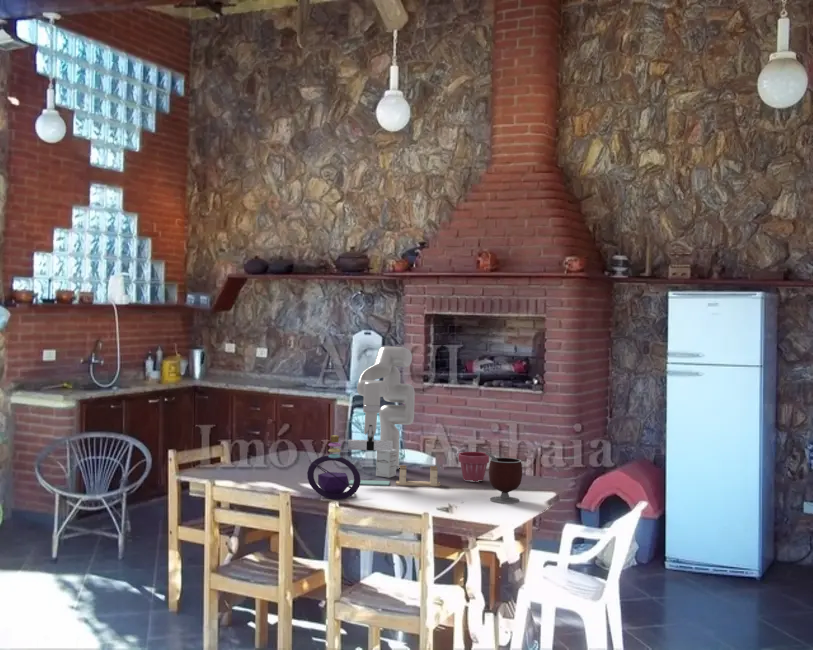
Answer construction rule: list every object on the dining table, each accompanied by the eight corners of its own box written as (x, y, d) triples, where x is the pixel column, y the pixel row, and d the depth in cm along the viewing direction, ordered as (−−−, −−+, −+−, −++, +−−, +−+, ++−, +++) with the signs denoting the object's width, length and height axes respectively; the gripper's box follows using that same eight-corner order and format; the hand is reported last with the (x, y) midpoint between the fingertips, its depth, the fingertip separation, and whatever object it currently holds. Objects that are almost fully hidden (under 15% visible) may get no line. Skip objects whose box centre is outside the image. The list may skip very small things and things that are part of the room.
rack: (396, 482, 401) (396, 465, 401) (439, 483, 401) (440, 466, 401) (395, 485, 395) (396, 467, 395) (440, 486, 395) (440, 468, 395)
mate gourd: (518, 497, 374) (519, 450, 374) (523, 504, 360) (525, 455, 360) (482, 497, 374) (483, 450, 374) (486, 503, 360) (487, 455, 360)
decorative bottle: (305, 499, 358) (307, 438, 358) (307, 489, 379) (309, 431, 379) (360, 500, 359) (362, 439, 359) (359, 490, 380) (361, 432, 380)
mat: (350, 481, 401) (350, 479, 401) (389, 482, 401) (389, 481, 401) (349, 484, 393) (349, 483, 393) (389, 485, 393) (389, 484, 393)
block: (347, 449, 395) (348, 440, 395) (348, 448, 399) (348, 439, 399) (392, 450, 395) (392, 441, 395) (392, 449, 399) (392, 440, 399)
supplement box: (375, 476, 416) (376, 449, 416) (383, 474, 423) (383, 447, 423) (389, 477, 413) (389, 451, 413) (396, 475, 420) (397, 449, 419)
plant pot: (458, 483, 404) (459, 455, 404) (457, 477, 418) (458, 451, 418) (489, 484, 404) (490, 456, 404) (487, 478, 418) (488, 452, 418)
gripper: (364, 407, 406) (362, 446, 406) (362, 410, 389) (361, 452, 389) (380, 407, 406) (379, 447, 406) (379, 411, 389) (378, 452, 389)
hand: (370, 449), depth 397 cm, fingers closed on block, 4 cm apart
